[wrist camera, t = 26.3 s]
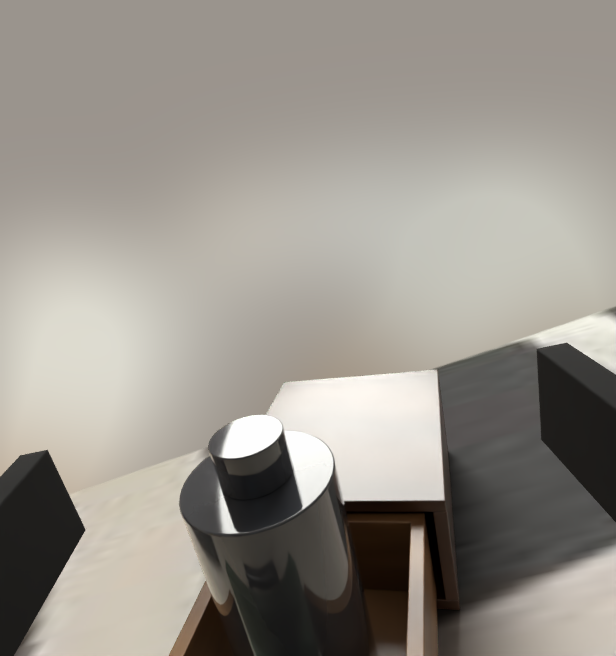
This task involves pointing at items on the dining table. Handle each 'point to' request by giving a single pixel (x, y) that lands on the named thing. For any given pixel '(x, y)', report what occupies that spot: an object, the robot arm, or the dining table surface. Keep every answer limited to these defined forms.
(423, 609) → the drawer
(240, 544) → the bottle
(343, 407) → the cabinet
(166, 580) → the dining table surface
